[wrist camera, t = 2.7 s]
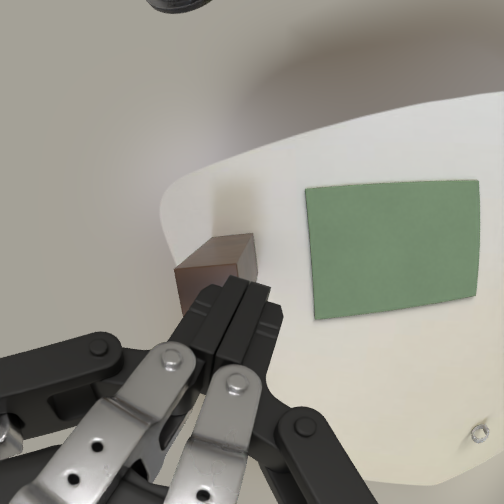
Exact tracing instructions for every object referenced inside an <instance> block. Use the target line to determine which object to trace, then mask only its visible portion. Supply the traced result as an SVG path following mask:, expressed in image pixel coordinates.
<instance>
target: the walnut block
mask: <svg viewBox="0 0 504 504" xmlns="http://www.w3.org/2000/svg"><path fill="white" fill-rule="evenodd" d="M174 272H175V278H176V283H177V288H178V294H179V298H180V304H181V309H182V314H183V317H184V315H185V314H186V312H187V311H188V310H189V308H190V306H191V305H192V303H193V302H194V300H195V299H196V297H197V296H198V294H199V292H200V291H201V290H202V289H204V288H206V287H207V286H209V285H210V284H215V285H218V286H221V287H223V285H224V284H225V282H226V280H227V279H228V277H229V275H233V276H237V277H240V278H243V279H246V280H249V281H250V282H251V281H253V282H256V279H257V275H258V270H257V261H256V253H255V244H254V236H253V233H249V234H239V235H230V236H220V237H212V238H211V239H210V240H208V241H207V242H206V243H205V244H203V245H202V246H201V247H200V248H199V249H197V250H196V251H195V252H194V253H193V254H191V255H190V256H189V257H188V258H187V259H185V260H184V261H183V262H182V263H181V264H179V265H178V266H177V267H176V268H175V269H174Z"/></svg>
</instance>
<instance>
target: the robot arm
mask: <svg viewBox="0 0 504 504" xmlns="http://www.w3.org/2000/svg"><path fill="white" fill-rule="evenodd" d="M163 1H180V0H163ZM270 289H271V287H269V286H266V285H262V284H259V283H256V282H253V281H251V282H250V281H249V280H246V279H243V278H240V277H237V276H233V275H229V277H228V279H227V280H226V282H225V284H224V285H223V287H221V286H218V285H215V284H210V285H209V286H207V287H206V288H204V289H202V290H201V291H200V292H199V294H198V296H197V297H196V299H195V300H194V302H193V303H192V305H191V306H190V308H189V310H188V311H187V312H186V314H185V315H184V317H183V318H182V320H181V322H180V323H179V324H178V326H177V328H176V329H175V331H174V332H173V334H172V335H171V337H170V338H169V340H168V341H167V342H163V343H160V344H158V345H156V346H155V347H153V348H152V349H151V350H137V349H130V348H122V346H121V343H120V341H119V340H118V339H117V337H115V336H114V335H112V334H110V333H107V332H94V333H90V334H87V335H83V336H80V337H77V338H73V339H69V340H66V341H62V342H59V343H55V344H51V345H48V346H44V347H41V348H37V349H33V350H30V351H26V352H22V353H18V354H15V355H11V356H7V357H3V358H0V504H236V503H237V500H238V496H239V492H240V488H241V484H242V480H243V476H244V472H245V468H246V464H247V459H248V455H249V456H250V457H252V458H253V459H255V460H256V461H258V463H259V466H260V468H261V470H262V472H263V474H264V476H265V478H266V480H267V482H268V484H269V486H270V488H271V490H272V492H273V494H274V496H275V498H276V500H277V502H278V504H378V503H377V501H376V500H375V498H374V496H373V495H372V493H371V492H370V490H369V489H368V487H367V485H366V484H365V482H364V480H363V479H362V477H361V476H360V474H359V472H358V471H357V469H356V468H355V466H354V464H353V463H352V461H351V460H350V458H349V456H348V455H347V453H346V452H345V450H344V448H343V447H342V445H341V443H340V442H339V440H338V439H337V437H336V435H335V434H334V432H333V430H332V429H331V427H330V426H329V424H328V422H327V421H326V419H325V418H324V416H323V415H322V414H321V413H319V412H318V411H316V410H314V409H312V408H309V407H302V406H301V407H294V408H290V407H289V406H287V405H285V404H284V403H282V402H281V401H279V400H278V399H276V398H275V397H274V396H273V395H272V394H271V392H270V391H269V389H268V387H267V384H266V373H267V370H268V367H269V364H270V360H271V357H272V354H273V351H274V347H275V344H276V341H277V337H278V334H279V331H280V327H281V324H282V321H283V313H282V309H281V305H278V304H275V303H271V302H268V301H267V300H268V297H269V293H270ZM200 393H201V394H204V395H206V396H205V399H204V402H203V405H202V408H201V410H200V413H199V416H198V419H197V421H196V424H195V427H194V430H193V432H192V435H191V437H190V438H189V439H188V441H187V443H186V444H185V447H184V450H183V452H182V455H181V457H180V460H179V463H178V466H177V468H176V471H175V474H174V477H173V479H172V482H171V485H170V487H167V486H162V485H157V484H152V483H153V482H154V480H155V478H156V477H157V475H158V473H159V472H160V470H161V468H162V465H163V462H164V459H165V456H166V454H167V452H168V451H169V449H170V447H171V446H172V444H173V442H174V441H175V439H176V437H177V436H178V434H179V432H180V431H181V429H182V427H183V426H184V424H185V422H186V421H187V419H188V417H189V415H190V414H191V412H192V410H193V406H194V404H195V402H196V400H197V398H198V396H199V394H200ZM74 426H77V427H76V428H75V429H74V430H73V432H72V433H71V434H70V435H69V437H68V438H67V439H66V440H65V442H64V443H63V444H61V445H54V446H50V447H47V448H44V449H41V450H37V451H34V452H30V453H26V454H23V455H19V456H15V457H11V456H14V455H16V454H20V453H21V452H22V450H23V440H26V439H30V438H34V437H38V436H42V435H46V434H50V433H53V432H57V431H60V430H64V429H67V428H71V427H74ZM9 457H11V458H9Z"/></svg>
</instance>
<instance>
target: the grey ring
mask: <svg viewBox="0 0 504 504" xmlns="http://www.w3.org/2000/svg"><path fill="white" fill-rule="evenodd" d="M477 429H483V431H484V433H485V434H486V436H485V437H484V438H480V439H477V438H476V437H475V435H474V432H475V431H476V430H477ZM488 435H489V429H488V427H487V426H486V425H485V424H483V425H478V426H476V427H475V428H474V429H473V431H472V435H471V436H472V440H473V441H474V442H476V443H481V442H484V441H485V440H486V439H487V437H488Z"/></svg>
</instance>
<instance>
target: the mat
mask: <svg viewBox="0 0 504 504" xmlns="http://www.w3.org/2000/svg"><path fill="white" fill-rule="evenodd" d="M305 194H306V204H307V215H308V225H309V237H310V249H311V263H312V277H313V293H314V311H315V320H316V319H326V318H335V317H344V316H352V315H360V314H368V313H376V312H383V311H390V310H397V309H403V308H410V307H416V306H422V305H428V304H434V303H440V302H445V301H451V300H456V299H461V298H466V297H471V296H476V289H477V278H478V266H479V248H480V195H479V181H425V182H400V183H380V184H363V185H348V186H335V187H322V188H310V189H305Z"/></svg>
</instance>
